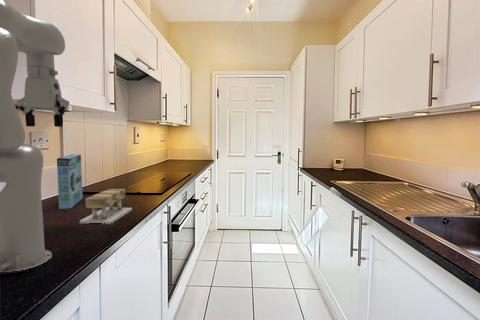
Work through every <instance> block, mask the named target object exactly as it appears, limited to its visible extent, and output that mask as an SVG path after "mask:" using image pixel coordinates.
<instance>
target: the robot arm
mask: <svg viewBox="0 0 480 320" xmlns="http://www.w3.org/2000/svg"><path fill="white" fill-rule="evenodd" d="M65 49H66V42H65V37H64V35H63V34H62V32H61V31H60V29H59V28H58V27H56V26H55V25H54V24H52V23H49V22H47V21H44V20H41V19H38V18H36V17H32V16H30V15H27V14H24V13H21V12H19V11H18V10H17V9H15V8H14V7H13V6H12V5H11V4H9V3H8V2H7V1H5V0H0V183H5V186H4V187H3V188H2V189H1V190H0V272H12V271H21V270H26V269H29V268H33V267H36V266H39V265H41V264H43V263H45V262H47V261H48V260H49V259H51V257H52V258H53V253H52V252H51V251H50V250H48V249H46V248H45V235H44V234H45V232H44V231H45V230H44V218H43V217H44V215H43V203H42V201H43V200H42V174H43V170H44V169H43V167H44V155H43V153H42V151H41V150H40V149H39V148H38V147H37V146H34V145H31V144H26V143H25V140H26V132H25V128H24V126H23V122H22V121H21V117H20V115H19V111H18V109H17V108H16V104H15V103H14V100H13V96H12V87H13V83H14V80H15V75H16V71H17V67H18V66H17V65H18V59H19V52H20V53H23V54H25V59H26V60H25V61H26V74H27V77H26V78H25V82H24V97H22V98H19V99H18V100H16V103H17V106H18V107H19V110H20V111H22V113H23V115H25V116H24V117H25V118H24V119H25V126H26V127H35V126H36V118H35V114H34V112H36V110H52V112H54V114H53V123H54V127H58V128H62V127H63V124H64V119H63V118H64V117H63V116H64V115H65V112H66V111H68V107H69V105H70V101H68V99H65V98H64V97H62V91H61V90H62V89H61V87H60V83H59V80H58V79H57V78H56V76H58V74H59V73H58V71H57V70H55V56H60V55H62V54H64V52H65ZM51 260H52V259H51Z"/></svg>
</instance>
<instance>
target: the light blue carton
mask: <svg viewBox="0 0 480 320" xmlns="http://www.w3.org/2000/svg"><path fill="white" fill-rule="evenodd" d="M56 168H57V169H56V171H57V191H58V193H57V194H58V209H59V210H69V209H70V208H71V209H72V208H74V206H75V205H76V204H78V203H79V202H80V201H81V200H82V199H83V196H84V195H83V176H82V175H83V174H82V155H81V154H74V153H72V154H69V155H65V156H62V157H59V158H58V157H57V158H56Z"/></svg>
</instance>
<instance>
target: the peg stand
mask: <svg viewBox="0 0 480 320" xmlns="http://www.w3.org/2000/svg"><path fill="white" fill-rule="evenodd" d="M116 205H117V207H114V203H113V204H111V205H109V206H107V207H105V208H100V210H98V208H91V214H90V215H88V216H86V217H84V218H81V219H80V220H79V224H89V223H102V224H101V225H112V224H113V223H114V221H115V222H116V221H118V220H119V219H121V218H122V217H124V216H125V215H126V214H128V213H130V212H131V211H133V208H132V207H122V199H121V200H119V201H117V202H116ZM104 223H105V224H104ZM111 223H112V224H111Z"/></svg>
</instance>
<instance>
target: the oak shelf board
mask: <svg viewBox="0 0 480 320" xmlns="http://www.w3.org/2000/svg"><path fill="white" fill-rule="evenodd" d="M124 198H126V189H125V188H109V189H106V190H103V191H101V192H98V193H95V194H93V195H91V196H88V197H86V198H85V208H86V209H92V208H97V209H101V208H105V207H109V205H111V204H113V205H114V204H115V203H117V201H119V200H121V201H122V200H123V199H124Z"/></svg>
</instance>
